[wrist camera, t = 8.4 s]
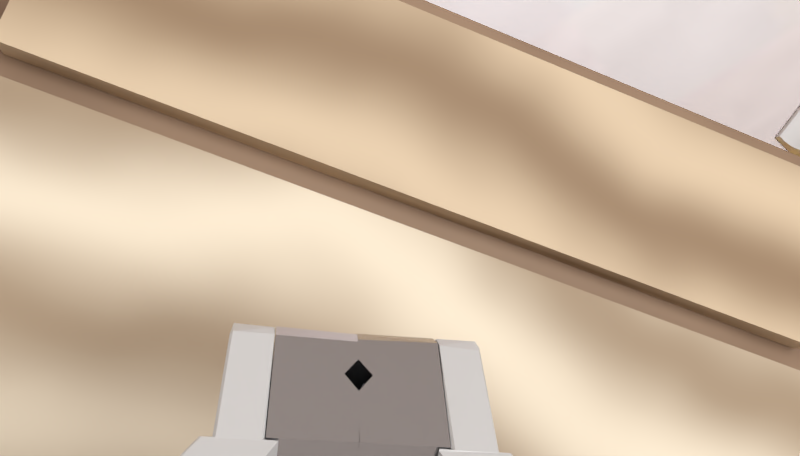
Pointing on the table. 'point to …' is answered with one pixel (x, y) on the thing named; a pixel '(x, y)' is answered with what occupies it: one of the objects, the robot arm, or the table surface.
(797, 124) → the baseboard
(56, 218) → the ash plank
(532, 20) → the table surface
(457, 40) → the wooden box
